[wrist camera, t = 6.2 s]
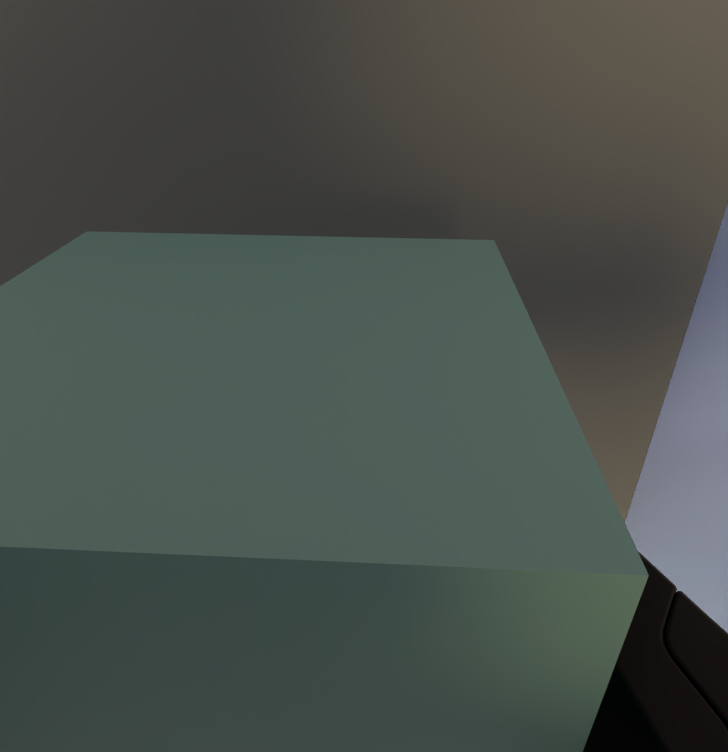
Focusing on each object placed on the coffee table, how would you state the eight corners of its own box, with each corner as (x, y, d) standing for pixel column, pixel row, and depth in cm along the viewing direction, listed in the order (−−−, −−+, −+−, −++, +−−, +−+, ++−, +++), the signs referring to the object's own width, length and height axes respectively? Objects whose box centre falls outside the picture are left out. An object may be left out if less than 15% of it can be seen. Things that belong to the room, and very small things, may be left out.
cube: (493, 239, 8) (647, 574, 3) (457, 538, 11) (505, 956, 6) (86, 231, 9) (-385, 529, 3) (158, 525, 12) (-34, 916, 6)
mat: (804, -148, 9) (846, -166, 8) (595, 554, 17) (605, 582, 17) (-161, -142, 10) (-213, -158, 9) (75, 533, 18) (58, 558, 17)
